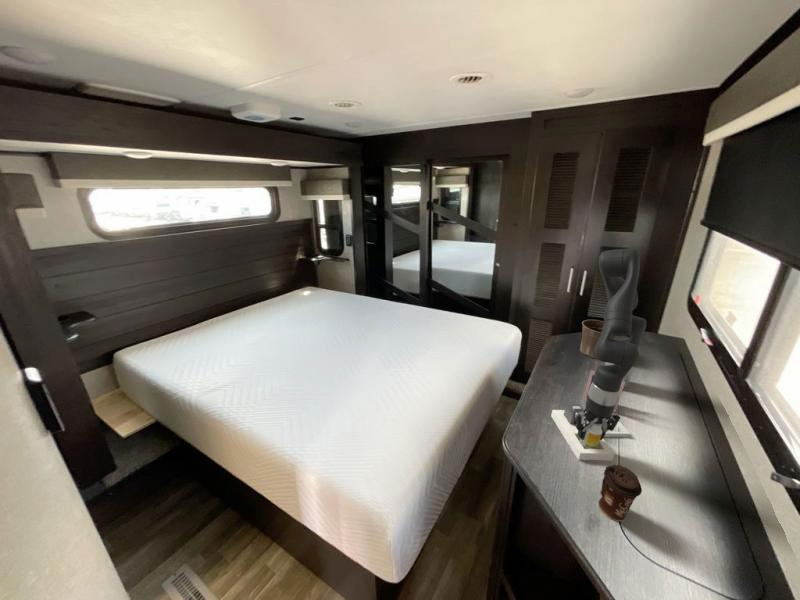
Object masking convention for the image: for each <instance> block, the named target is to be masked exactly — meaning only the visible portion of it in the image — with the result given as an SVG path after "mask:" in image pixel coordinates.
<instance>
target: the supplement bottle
mask: <svg viewBox="0 0 800 600" xmlns="http://www.w3.org/2000/svg"><path fill="white" fill-rule="evenodd" d="M587 422H588V421H587ZM588 423H589V422H588ZM584 426H585V424H584ZM601 427H602V424H593V425H592V427H591V428H588V429H587V430H586V434H585V438H584V440H581V439H580V440H579V442H580V443H581V445H582V446H583V447H584V448H585V449H597V447H598V444H599V441H600V438H601V435H602V428H601Z"/></svg>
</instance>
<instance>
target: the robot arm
mask: <svg viewBox="0 0 800 600" xmlns="http://www.w3.org/2000/svg"><path fill="white" fill-rule="evenodd" d="M598 269H599V272H600V275H601V278H602V280H603V283H604V285H605V291H606V298H607V303H606V306H605V308H604V314H603V322H604V325H603V330H602V333H601V336H600V338H599V340H598V342H597V344H596V346H595V349H594V353H595V356H596V358H597V359H596V360H598V361H599V362H600V361H601V362H603V363H605V364H603V365H599V366H597V367H596V369H595V370H596V372H595V375H594V379H593V382H592V384H591V386H590V389H589V393H588V397H587V400H586V402H585V408H584V411H583V412H579V413H578V412H577V411H574V425H575V427H576V428H577V430H578V433H577V434H578V436H579V438H580V439H581V440H584V438H585V434H586V430H587V429H588V428H591V427H592V425H593V424H602V427H601V428H602V435H601V438H600V440H602V439H604V438H605V437H604V436H605V433H606V432H614V429H615V428H616V426H617V423H618V421H619V422H620V420H621V416H619V414H618V413H617V412H613V411H614V408H615V405H616V402H617V399H618V394H619V389H620V386H621V383H622V381H624V382H625V384H624V387H623V389H624V388H628V385H629V382H630V381H631V377H632V373H633V371H634V368H633V367H634V366H635V364H636V363H637V361H638V359H639V355H640V353H639V352H640V351H639V346H640V344H641V341H642V338H643V335H644V333H645V331H646V328H647V320H646V319H645V318H642V317H640V316H636V315H633V312H634V310H635V309H636V308H637V306H638V304H639V296H638V291H637V287H638V282H639V277H640V269H641V255H640V252H639V250H638V249H637V248H634V247H631V248H619V249H610V250H605V251H602V252H601V253H600V255H598ZM624 277H625V279H624ZM613 336H616V337H626V338H627V337H628V338H629V339H622V338H620V339H613V340H612V339H611V337H613ZM581 420H582V421H581ZM587 421H588V422H589V423H588V422H587ZM584 424H585V426H584Z"/></svg>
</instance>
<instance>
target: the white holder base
mask: <svg viewBox="0 0 800 600" xmlns="http://www.w3.org/2000/svg"><path fill="white" fill-rule="evenodd" d="M584 410H585V408H583V406H582V405H581V404H580V403H566V404H565V407H564V409H552V411H551V419H552V420H553V421H554V423H555V424H556V426H557V428H558V429H559V431H560V432H561V435H562V436H563V438H564V439H565V441H566V442H567V444H568V445H570V446H569V448H570V449H571V451H572V452H573V454H574V455H575V457H576V458H577V460H578V461H611V462H612V461H613V459H614V457H615V455H616V454H615V452H614V451H613V450H612V448H611V447H610V446H609V444H608V443H607V442H606V440H605V439H604V438H603V439H602V440H600V441H599V444H598V447H597V448H596V449H589V448H585V447H584V446H583V445H582V444H581V443H580V438H579V436H578V434H577V433H578V430H577V428H576V427H575V425H574V411H577V412H578V413H579V412H583V411H584ZM581 421H582V420H581Z"/></svg>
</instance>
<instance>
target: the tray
mask: <svg viewBox="0 0 800 600" xmlns="http://www.w3.org/2000/svg"><path fill="white" fill-rule="evenodd" d="M616 426H617V428H618V429H619V430H620V431H607V432H606V433H605V436H604V438H605V437H606V438H608V437H609V438H610V437H612V438H613V437H614V438H615V437H616V438H617V437H618V438H629V437H630V435H631V433H630V432H629V430H628V429H626V427H625V426H624V425H623V424H622V423H621V422H620V420H619V421H618V423H617V425H616Z"/></svg>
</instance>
